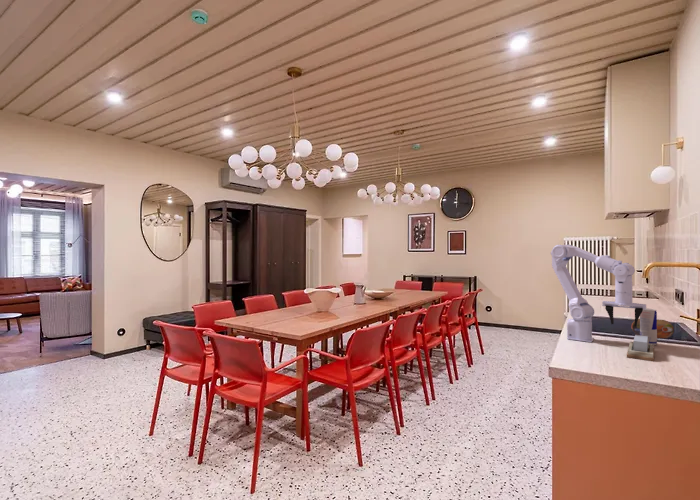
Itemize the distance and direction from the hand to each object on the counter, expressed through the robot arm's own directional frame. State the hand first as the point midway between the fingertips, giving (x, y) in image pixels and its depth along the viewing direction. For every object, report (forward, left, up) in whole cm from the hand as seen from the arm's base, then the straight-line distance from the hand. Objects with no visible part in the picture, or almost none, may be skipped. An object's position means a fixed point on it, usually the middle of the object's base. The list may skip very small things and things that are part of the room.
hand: (623, 325), depth 151 cm
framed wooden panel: (+6, -7, -9) cm, 13 cm away
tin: (+9, +29, -10) cm, 31 cm away
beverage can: (+8, +13, -10) cm, 18 cm away
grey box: (+6, -8, -8) cm, 12 cm away
